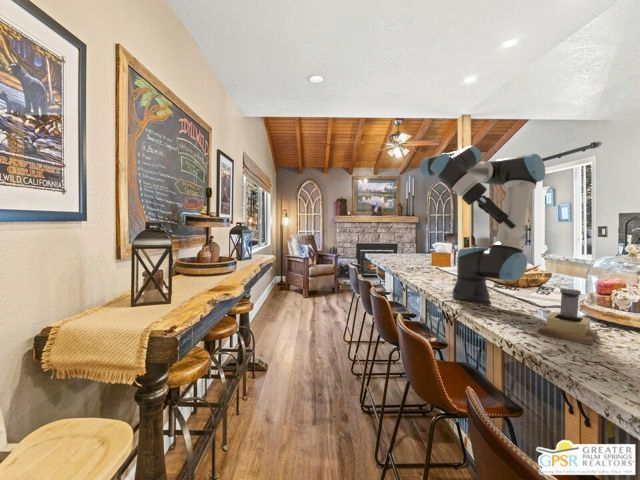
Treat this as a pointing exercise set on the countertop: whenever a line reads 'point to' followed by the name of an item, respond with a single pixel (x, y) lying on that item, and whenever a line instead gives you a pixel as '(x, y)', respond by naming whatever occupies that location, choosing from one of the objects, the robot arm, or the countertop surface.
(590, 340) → the socket base
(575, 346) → the countertop surface
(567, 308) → the pin
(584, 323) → the square socket frame
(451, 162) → the robot arm
